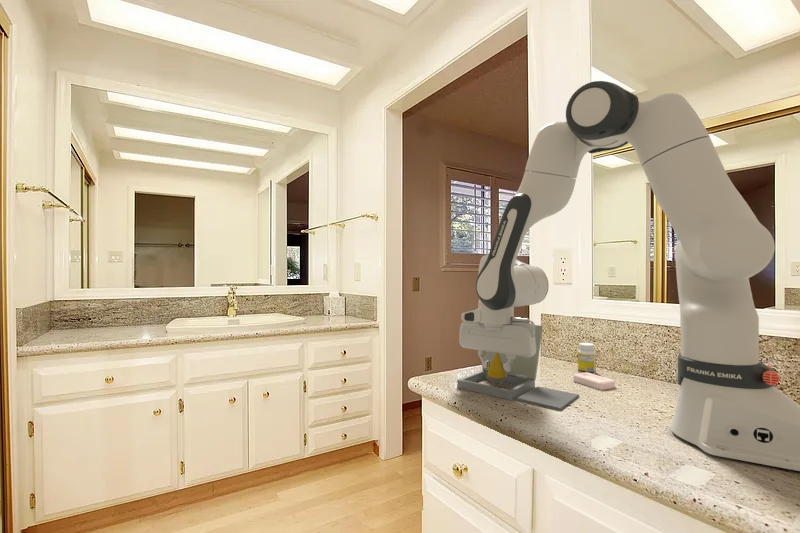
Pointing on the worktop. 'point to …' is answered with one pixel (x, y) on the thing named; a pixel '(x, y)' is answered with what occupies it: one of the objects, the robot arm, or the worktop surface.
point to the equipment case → (519, 375)
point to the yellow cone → (496, 371)
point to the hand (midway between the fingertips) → (496, 369)
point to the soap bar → (594, 381)
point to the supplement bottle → (586, 358)
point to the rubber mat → (548, 398)
